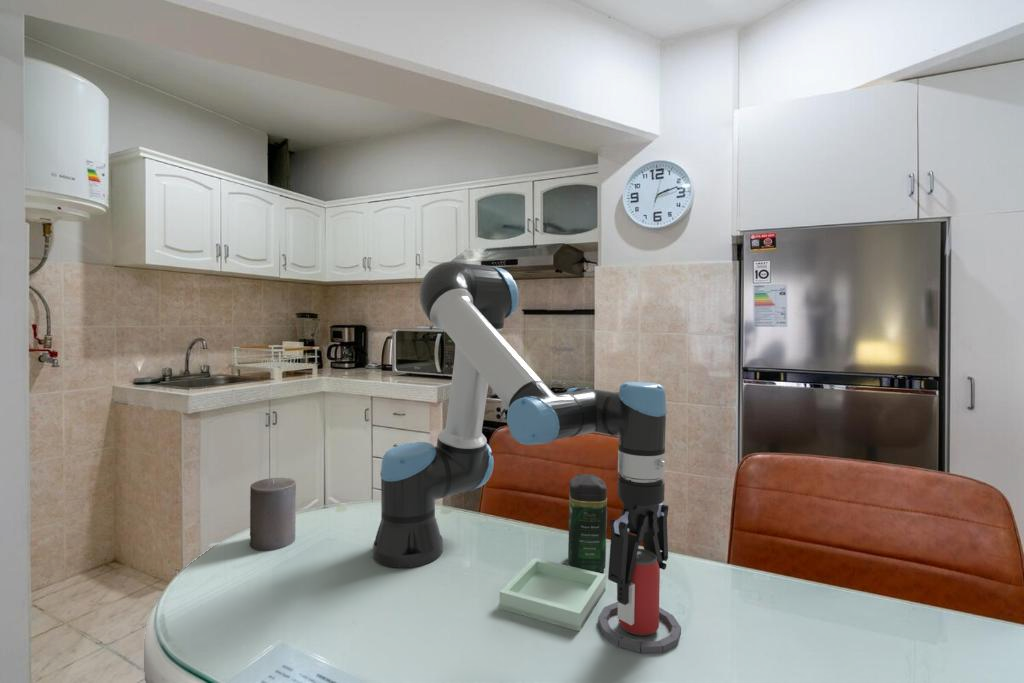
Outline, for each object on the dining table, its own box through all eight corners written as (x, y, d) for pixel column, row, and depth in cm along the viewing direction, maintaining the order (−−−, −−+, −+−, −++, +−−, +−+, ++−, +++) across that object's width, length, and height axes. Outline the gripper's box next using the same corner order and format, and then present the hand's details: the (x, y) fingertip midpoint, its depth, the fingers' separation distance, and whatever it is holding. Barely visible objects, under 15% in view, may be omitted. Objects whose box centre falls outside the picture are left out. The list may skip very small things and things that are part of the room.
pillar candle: (239, 547, 115) (239, 481, 114) (271, 530, 124) (272, 470, 123) (275, 554, 112) (275, 486, 111) (305, 536, 121) (305, 474, 121)
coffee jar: (608, 576, 103) (609, 485, 102) (568, 574, 103) (569, 483, 103) (603, 554, 112) (604, 471, 112) (567, 553, 113) (568, 470, 113)
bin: (499, 608, 91) (499, 591, 91) (533, 572, 104) (534, 557, 104) (579, 631, 84) (579, 613, 84) (605, 589, 97) (605, 574, 97)
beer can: (610, 621, 86) (611, 551, 86) (639, 611, 90) (640, 543, 89) (637, 642, 81) (638, 567, 80) (667, 630, 84) (668, 558, 84)
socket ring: (589, 638, 82) (589, 632, 82) (611, 599, 94) (611, 594, 94) (672, 662, 76) (672, 656, 76) (685, 618, 88) (685, 612, 88)
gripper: (625, 494, 75) (622, 647, 76) (691, 470, 88) (689, 601, 89) (585, 482, 81) (583, 625, 81) (654, 461, 94) (651, 584, 94)
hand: (638, 612), depth 85 cm, fingers closed on beer can, 6 cm apart
